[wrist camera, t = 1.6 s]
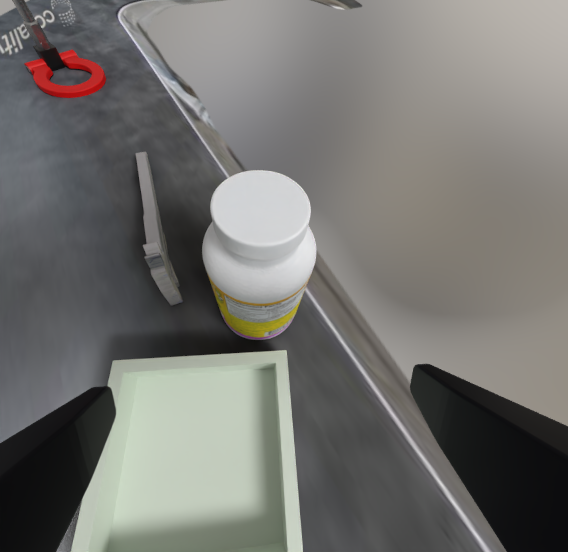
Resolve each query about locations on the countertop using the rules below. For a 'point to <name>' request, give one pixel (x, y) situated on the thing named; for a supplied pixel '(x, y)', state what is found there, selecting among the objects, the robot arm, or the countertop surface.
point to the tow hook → (57, 62)
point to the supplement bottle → (259, 251)
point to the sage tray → (196, 459)
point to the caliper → (156, 236)
